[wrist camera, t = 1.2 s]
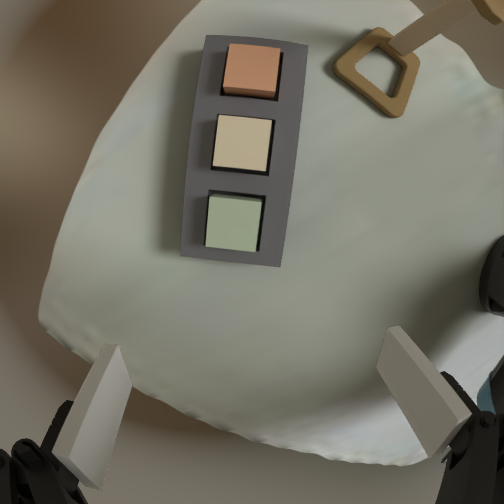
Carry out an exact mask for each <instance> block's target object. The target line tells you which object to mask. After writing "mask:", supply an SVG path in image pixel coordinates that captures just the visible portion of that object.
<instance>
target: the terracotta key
mask: <svg viewBox="0 0 504 504" xmlns="http://www.w3.org/2000/svg"><path fill="white" fill-rule="evenodd" d="M279 57H280V48H273V47H265V46H255V45H244V44H230V46H229V52H228V58H227V64H226V70H225V76H224V83H223V88H224V91H225V93H226V94H232V95H244V96H254V97H263V98H271V99H273V97H274V94H275V90H276V82H277V74H278V65H279Z"/></svg>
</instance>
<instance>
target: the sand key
mask: <svg viewBox="0 0 504 504" xmlns="http://www.w3.org/2000/svg"><path fill="white" fill-rule="evenodd" d="M271 123H272V120H265V119H256V118H247V117H237V116H225V115H219V119H218V126H217V134H216V142H215V151H214V160H213V166H222V167H232V168H242V169H251V170H259V171H266V164H267V155H268V147H269V139H270V131H271Z"/></svg>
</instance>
